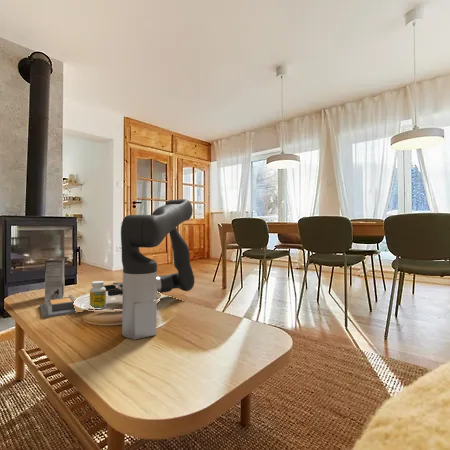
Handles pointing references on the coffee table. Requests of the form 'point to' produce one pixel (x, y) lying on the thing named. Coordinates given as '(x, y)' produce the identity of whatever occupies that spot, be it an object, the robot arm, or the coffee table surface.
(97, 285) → the supplement bottle
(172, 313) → the coffee table surface
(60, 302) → the snap plate
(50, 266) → the coffee box
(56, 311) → the rail mount
